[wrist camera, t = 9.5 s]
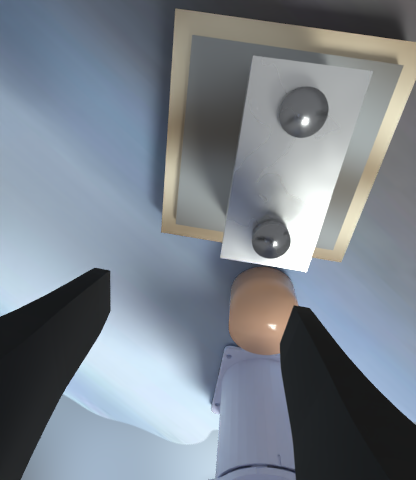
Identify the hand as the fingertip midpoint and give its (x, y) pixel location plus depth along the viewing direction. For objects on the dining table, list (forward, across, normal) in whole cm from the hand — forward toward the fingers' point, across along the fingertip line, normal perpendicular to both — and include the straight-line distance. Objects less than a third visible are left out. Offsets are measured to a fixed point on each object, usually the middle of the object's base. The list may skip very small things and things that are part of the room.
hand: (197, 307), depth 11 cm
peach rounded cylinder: (+10, -5, +6) cm, 13 cm away
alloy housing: (+8, -2, -5) cm, 10 cm away
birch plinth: (+10, -2, -5) cm, 12 cm away
